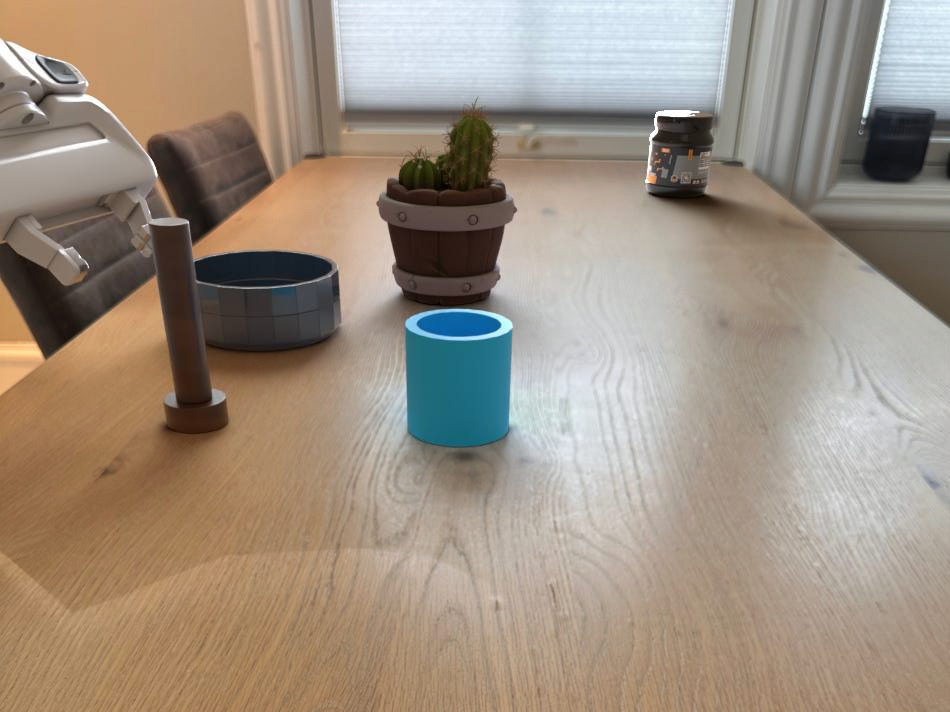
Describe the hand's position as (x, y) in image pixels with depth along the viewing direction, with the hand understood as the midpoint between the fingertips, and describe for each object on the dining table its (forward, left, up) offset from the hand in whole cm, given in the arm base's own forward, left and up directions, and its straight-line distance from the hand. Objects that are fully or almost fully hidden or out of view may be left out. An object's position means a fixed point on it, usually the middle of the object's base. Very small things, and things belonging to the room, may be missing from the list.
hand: (120, 263), depth 72 cm
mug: (+16, +19, -12) cm, 27 cm away
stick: (+3, +3, -12) cm, 13 cm away
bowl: (-14, +21, -12) cm, 27 cm away
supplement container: (-34, +118, -12) cm, 123 cm away
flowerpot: (-12, +44, -12) cm, 47 cm away
